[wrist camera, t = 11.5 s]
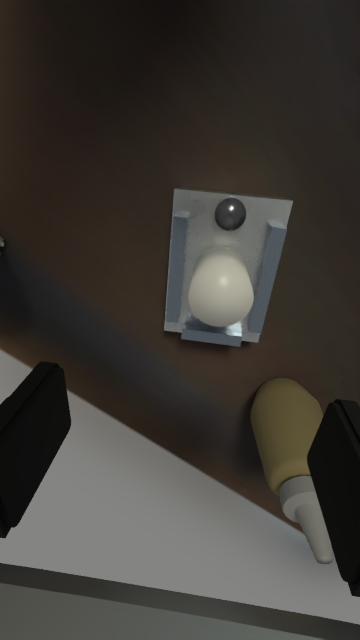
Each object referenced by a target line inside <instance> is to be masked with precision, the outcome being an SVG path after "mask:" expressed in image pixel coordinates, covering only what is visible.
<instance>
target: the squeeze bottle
mask: <svg viewBox="0 0 360 640" xmlns="http://www.w3.org/2000/svg"><path fill="white" fill-rule="evenodd" d="M322 418H323V413H322V410H321V408H320V405H319V403H318V401H317V400H316V399H315V398H314V397H313V396H311V395H310V394H309V393H308V392H307V391H306V390H305V389H304V388H303V387H302V386H301V385H300V384H298V383H297V382H296V381H294V380H291V379H288V378H274V379H271V380H268V381H266V382H265V383H264V384H262V385H261V386H260V387H259V389H258V391H257V393H256V396H255V399H254V402H253V405H252V408H251V424H252V428H253V432H254V435H255V439H256V443H257V447H258V450H259V454H260V458H261V462H262V465H263V469H264V473H265V477H266V480H267V484H268V485H269V487H270V489H271V491H272V492H274V493H275V494H277V495H278V496H279V497H280V500H281V505H282V510H283V512H284V514H285V515H286V517H288V518H289V519H291V520H292V521H294V522H297V523H300V525H301V527H302V529H303V532H304V534H305V536H306V538H307V541H308V543H309V545H310V547H311V550H312V552H313V554H314V556H315V559H316V561H317V562H318V563H320V564H329V563H331V562H332V561H333V557H332V546H331V542H330V538H329V535H328V532H327V528H326V525H325V522H324V518H323V515H322V512H321V508H320V505H319V502H318V498H317V495H316V492H315V488H314V485H313V482H312V478H311V475H310V471H309V468H308V464H307V454H308V451H309V449H310V447H311V444H312V442H313V440H314V437H315V435H316V433H317V430H318V428H319V426H320V423H321V421H322Z"/></svg>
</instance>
